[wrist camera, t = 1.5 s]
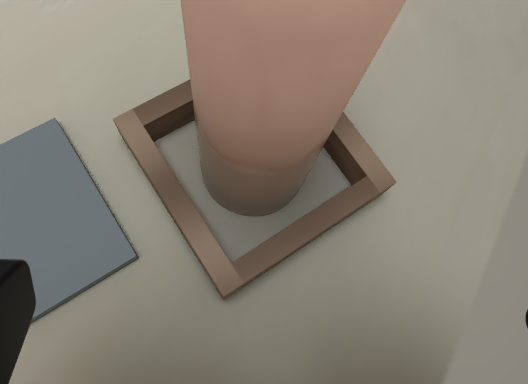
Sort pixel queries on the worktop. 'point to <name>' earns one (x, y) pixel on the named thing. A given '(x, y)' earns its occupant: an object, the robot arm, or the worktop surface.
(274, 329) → the worktop surface
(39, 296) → the mat
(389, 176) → the holder
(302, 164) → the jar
